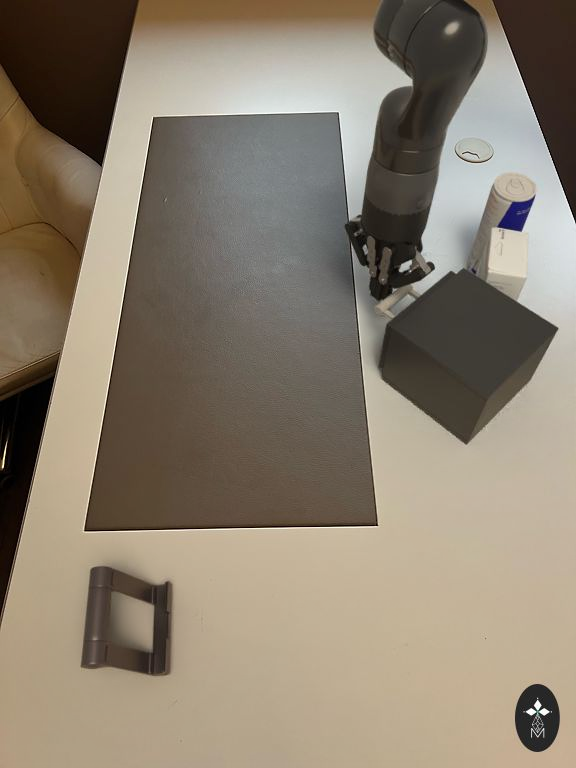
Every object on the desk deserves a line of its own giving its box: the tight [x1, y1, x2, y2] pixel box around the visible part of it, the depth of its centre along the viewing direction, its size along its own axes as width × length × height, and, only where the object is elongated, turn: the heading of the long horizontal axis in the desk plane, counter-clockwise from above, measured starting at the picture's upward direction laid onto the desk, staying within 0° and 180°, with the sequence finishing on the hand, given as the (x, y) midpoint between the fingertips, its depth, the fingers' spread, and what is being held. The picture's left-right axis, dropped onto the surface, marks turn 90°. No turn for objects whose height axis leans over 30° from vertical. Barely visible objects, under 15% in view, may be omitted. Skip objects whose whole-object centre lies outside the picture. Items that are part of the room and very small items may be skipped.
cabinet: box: [381, 267, 559, 445], centre depth 76 cm, size 14×14×11 cm
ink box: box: [476, 227, 530, 302], centre depth 82 cm, size 9×5×12 cm, turn 167°
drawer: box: [373, 270, 456, 371], centre depth 78 cm, size 17×12×9 cm
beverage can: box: [466, 172, 538, 275], centre depth 86 cm, size 6×6×15 cm
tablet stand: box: [80, 565, 173, 677], centre depth 60 cm, size 9×8×8 cm
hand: (379, 295), depth 82 cm, fingers closed
